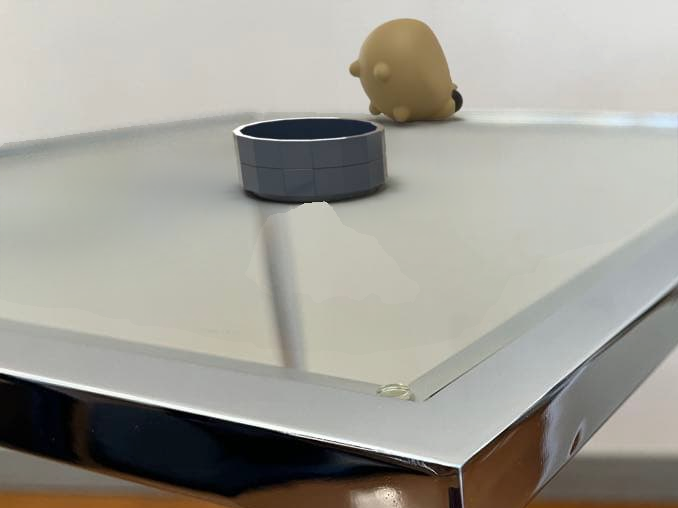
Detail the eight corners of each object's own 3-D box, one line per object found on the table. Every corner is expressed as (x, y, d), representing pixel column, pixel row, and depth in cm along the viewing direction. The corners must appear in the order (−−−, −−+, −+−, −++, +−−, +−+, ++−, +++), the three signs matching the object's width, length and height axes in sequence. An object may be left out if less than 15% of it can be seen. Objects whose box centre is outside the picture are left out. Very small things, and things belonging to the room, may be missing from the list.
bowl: (211, 197, 68) (201, 134, 66) (295, 169, 77) (289, 114, 75) (339, 210, 64) (333, 145, 62) (411, 179, 74) (408, 122, 72)
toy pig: (437, 159, 100) (495, 86, 101) (369, 78, 91) (433, 0, 92) (389, 143, 106) (444, 75, 108) (321, 67, 98) (382, -7, 99)
